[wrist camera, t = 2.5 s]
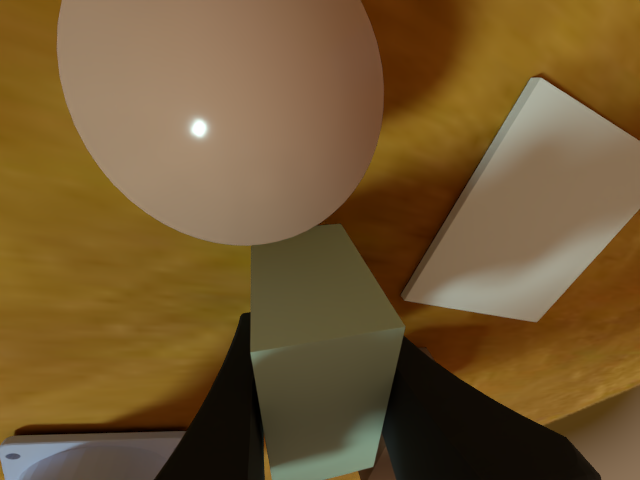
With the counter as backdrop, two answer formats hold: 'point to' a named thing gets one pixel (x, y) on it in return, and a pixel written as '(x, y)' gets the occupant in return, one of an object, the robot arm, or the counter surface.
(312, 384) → the sage brick
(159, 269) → the counter surface
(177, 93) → the pink cylinder
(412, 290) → the plate
